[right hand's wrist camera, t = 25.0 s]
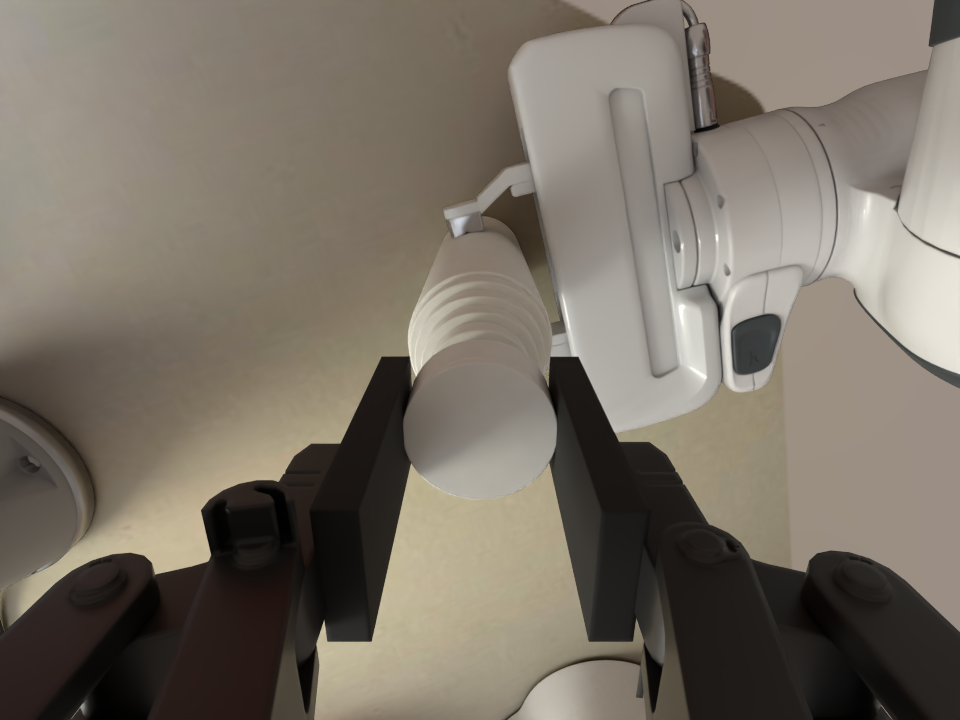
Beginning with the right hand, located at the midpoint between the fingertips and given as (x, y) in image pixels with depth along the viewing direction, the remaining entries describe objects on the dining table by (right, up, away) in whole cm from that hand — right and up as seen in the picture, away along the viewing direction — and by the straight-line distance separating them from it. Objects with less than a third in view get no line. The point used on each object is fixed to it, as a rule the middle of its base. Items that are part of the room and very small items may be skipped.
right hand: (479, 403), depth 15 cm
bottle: (0, +8, +20) cm, 21 cm away
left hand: (-1, +5, +14) cm, 15 cm away
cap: (0, -1, -1) cm, 1 cm away
